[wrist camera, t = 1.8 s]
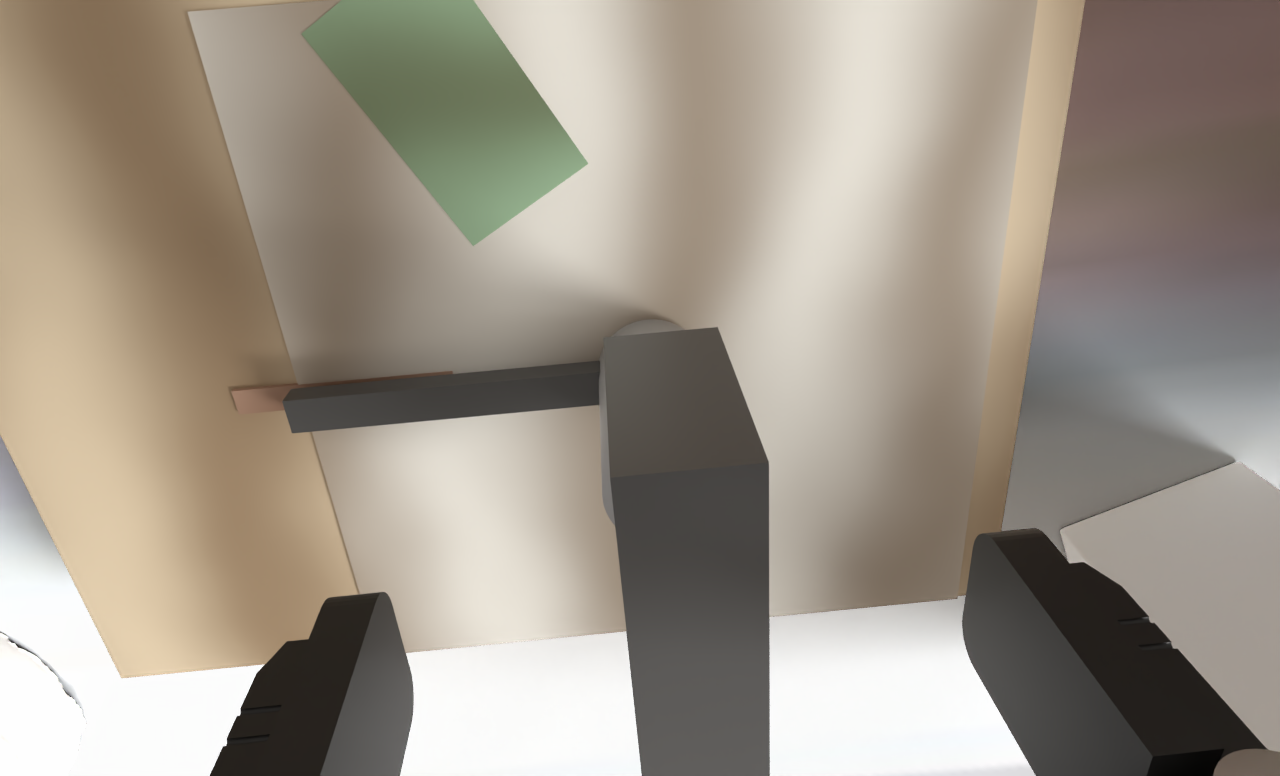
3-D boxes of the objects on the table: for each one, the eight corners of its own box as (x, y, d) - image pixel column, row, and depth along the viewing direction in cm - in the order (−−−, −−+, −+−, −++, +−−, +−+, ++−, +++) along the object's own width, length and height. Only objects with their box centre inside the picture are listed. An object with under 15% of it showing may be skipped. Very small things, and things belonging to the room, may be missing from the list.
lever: (697, 235, 17) (796, 459, 9) (707, 474, 20) (790, 808, 12) (260, 274, 17) (-31, 538, 9) (331, 509, 20) (156, 873, 12)
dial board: (1010, -158, 18) (1119, -193, 14) (936, 509, 26) (993, 595, 22) (-86, -71, 18) (-264, -83, 14) (185, 581, 26) (119, 681, 22)
